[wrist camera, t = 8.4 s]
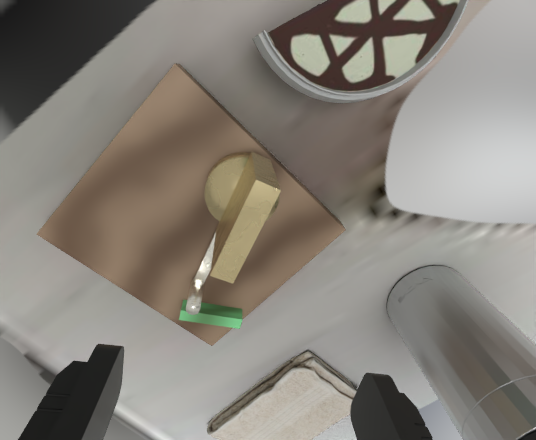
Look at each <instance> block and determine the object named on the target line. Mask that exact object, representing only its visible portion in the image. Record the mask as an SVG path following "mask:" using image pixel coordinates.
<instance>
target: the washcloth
mask: <svg viewBox="0 0 536 440" xmlns="http://www.w3.org/2000/svg"><path fill="white" fill-rule="evenodd" d="M356 392H357V390H355V389H354V387H353V385H352V383H351V382H350V381H349V380H348V379H347V378H345V377H344V376H343V375H341V374H340V373H339V372H337V371H335V370H334V369H332V368H331V367H330V366H328V364H326V363H325V362H324V361H322V360H321V359H320V358H318V357H317V356H316V355H314V354H313V353H311V352H309V351H308V352H305V353H303V354H302V355H299V356H296V357H294V358H292V359H291V360H290V361H287V362H286V363H285V364H283V365H281V366H280V367H279V368H277V369H276V370H274V371H273V372H272V373H271V374H269V375H268V376H267V377H265V378H264V379H263V380H261V381H260V382H259V383H257V384H256V385H255V386H253V387H252V388H251V389H249V390H248V391H247V392H246V393H244V394H243V395H242V396H240V397H239V398H238V399H237V400H235V401H234V402H233V403H232V404H230V405H229V406H228V407H226V408H225V409H223V410H222V411H221V412H219V413H218V414H217V415H216V416H214V417H213V418H212V420H211V421H210V423H209V425H208V428H207V432H208V434H209V435H211V436H212V437H214V438H217V439H219V440H312V439H313V438H314V437H315V436H318V435H319V434H320V433H321V432H324V431H325V430H326V429H328V428H329V427H330V426H332V425H334V424H335V423H337V422H338V421H340V420H341V419H343V418H344V417H346V416H348V415H350V410H351V403H352V401H353V398H354V396H355V394H356Z"/></svg>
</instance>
